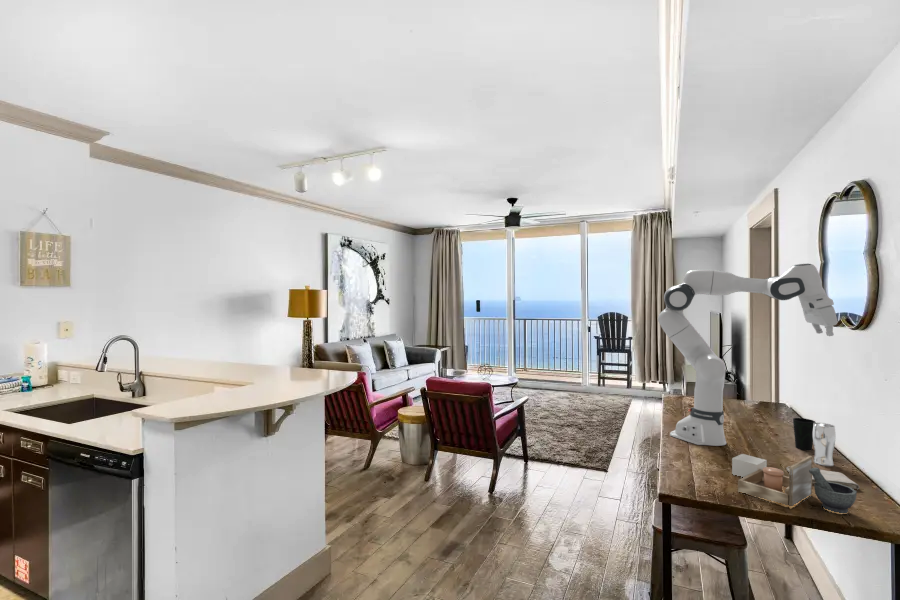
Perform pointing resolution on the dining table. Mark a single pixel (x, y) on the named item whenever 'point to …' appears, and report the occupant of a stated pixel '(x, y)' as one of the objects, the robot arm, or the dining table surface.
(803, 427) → the cup
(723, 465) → the dining table surface
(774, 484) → the terracotta pot
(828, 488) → the mortar and pestle
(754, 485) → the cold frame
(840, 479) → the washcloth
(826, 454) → the beer glass
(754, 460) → the block
